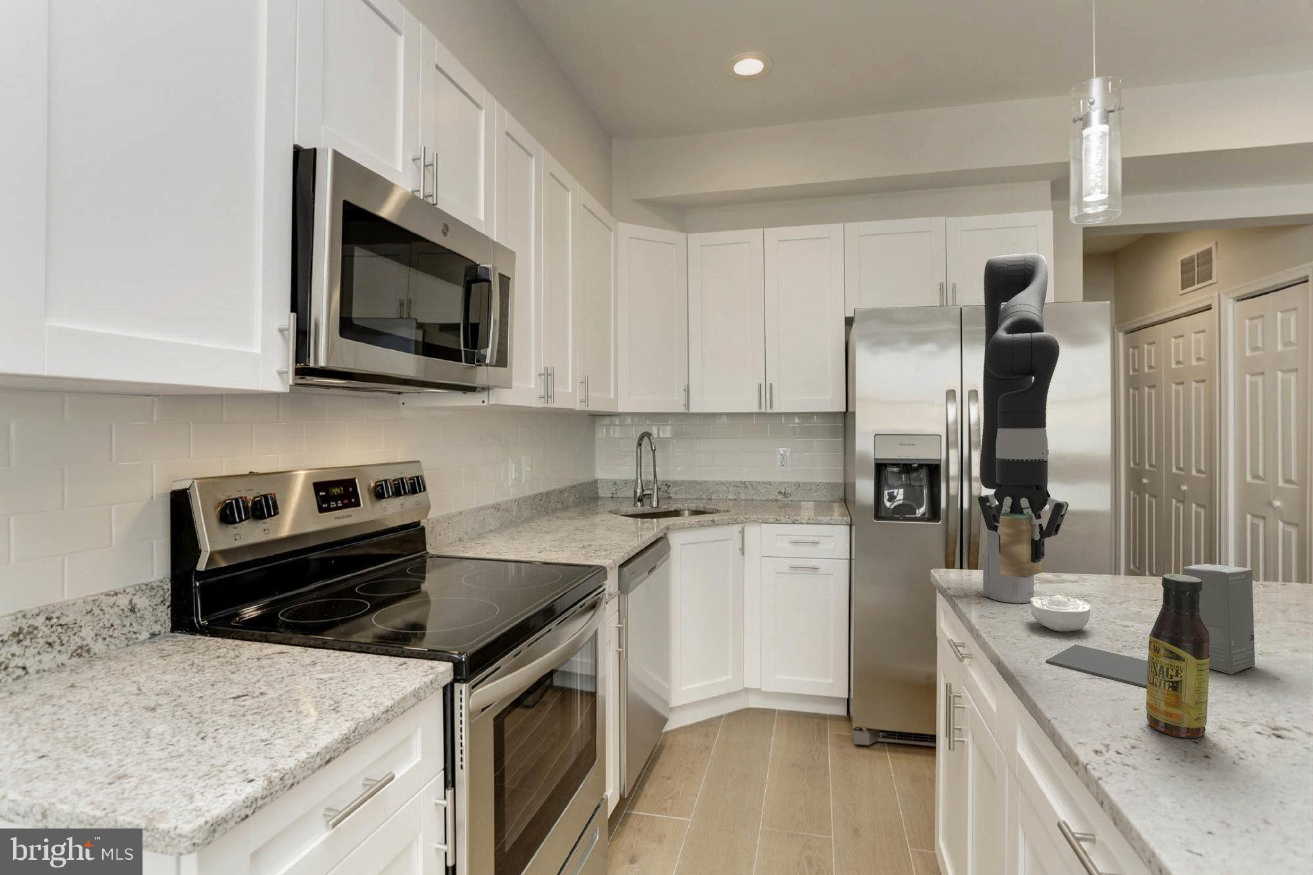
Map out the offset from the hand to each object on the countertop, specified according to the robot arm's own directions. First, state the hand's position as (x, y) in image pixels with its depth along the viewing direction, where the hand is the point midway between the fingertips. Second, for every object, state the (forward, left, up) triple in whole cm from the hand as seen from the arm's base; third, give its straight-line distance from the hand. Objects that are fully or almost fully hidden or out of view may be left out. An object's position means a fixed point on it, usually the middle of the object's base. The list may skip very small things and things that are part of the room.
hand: (1021, 559), depth 113 cm
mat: (+11, +8, -17) cm, 22 cm away
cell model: (-3, +23, -17) cm, 29 cm away
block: (0, 0, -2) cm, 2 cm away
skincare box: (+21, +22, -17) cm, 35 cm away
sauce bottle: (+24, -11, -17) cm, 31 cm away
